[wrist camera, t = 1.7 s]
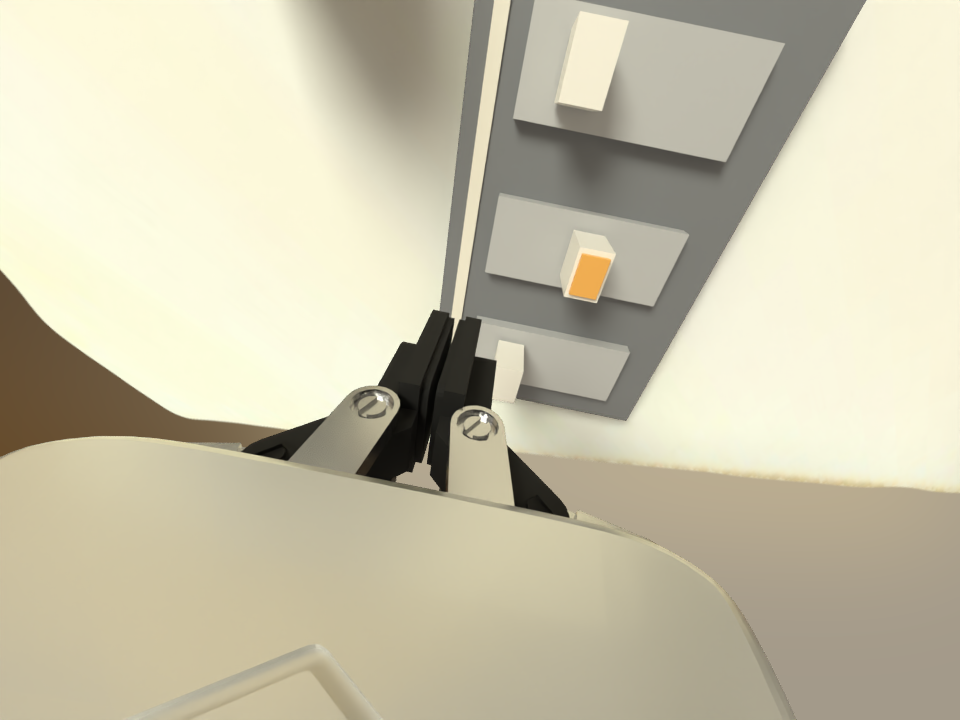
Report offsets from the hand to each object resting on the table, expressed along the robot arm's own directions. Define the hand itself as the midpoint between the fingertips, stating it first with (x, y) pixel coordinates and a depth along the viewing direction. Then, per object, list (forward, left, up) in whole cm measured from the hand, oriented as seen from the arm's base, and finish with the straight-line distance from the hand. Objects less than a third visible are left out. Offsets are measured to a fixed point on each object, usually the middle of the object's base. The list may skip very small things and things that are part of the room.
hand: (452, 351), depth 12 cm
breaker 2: (-3, -9, -13) cm, 16 cm away
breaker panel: (-6, 0, -17) cm, 18 cm away
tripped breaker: (-6, 0, -13) cm, 15 cm away
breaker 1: (-3, +9, -13) cm, 16 cm away
